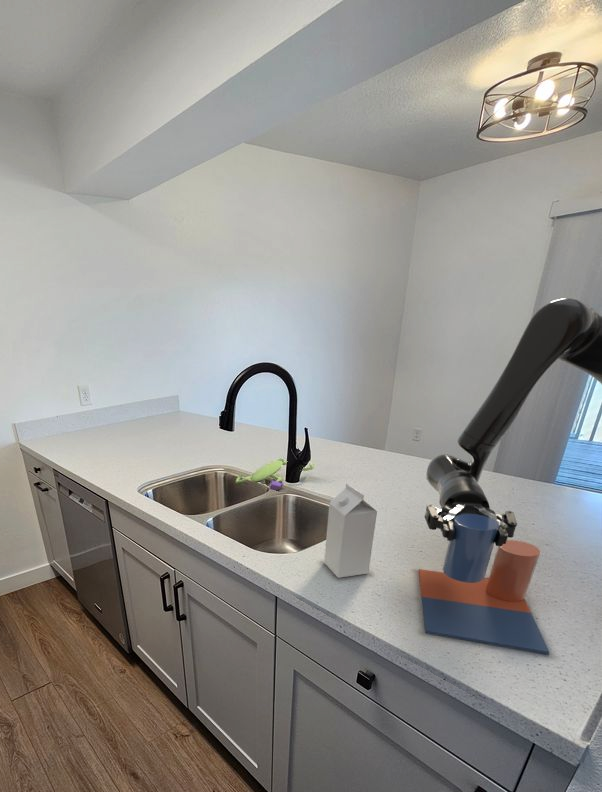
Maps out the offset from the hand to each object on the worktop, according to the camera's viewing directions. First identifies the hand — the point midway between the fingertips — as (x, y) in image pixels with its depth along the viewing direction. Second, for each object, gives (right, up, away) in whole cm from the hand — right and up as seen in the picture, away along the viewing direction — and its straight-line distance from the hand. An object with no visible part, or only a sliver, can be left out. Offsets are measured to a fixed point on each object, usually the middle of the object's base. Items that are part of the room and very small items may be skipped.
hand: (475, 538), depth 71 cm
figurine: (-18, +21, +83) cm, 87 cm away
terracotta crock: (+15, -11, +14) cm, 23 cm away
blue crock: (+1, -6, +5) cm, 8 cm away
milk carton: (-12, -7, +27) cm, 30 cm away
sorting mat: (+7, -13, +12) cm, 19 cm away
